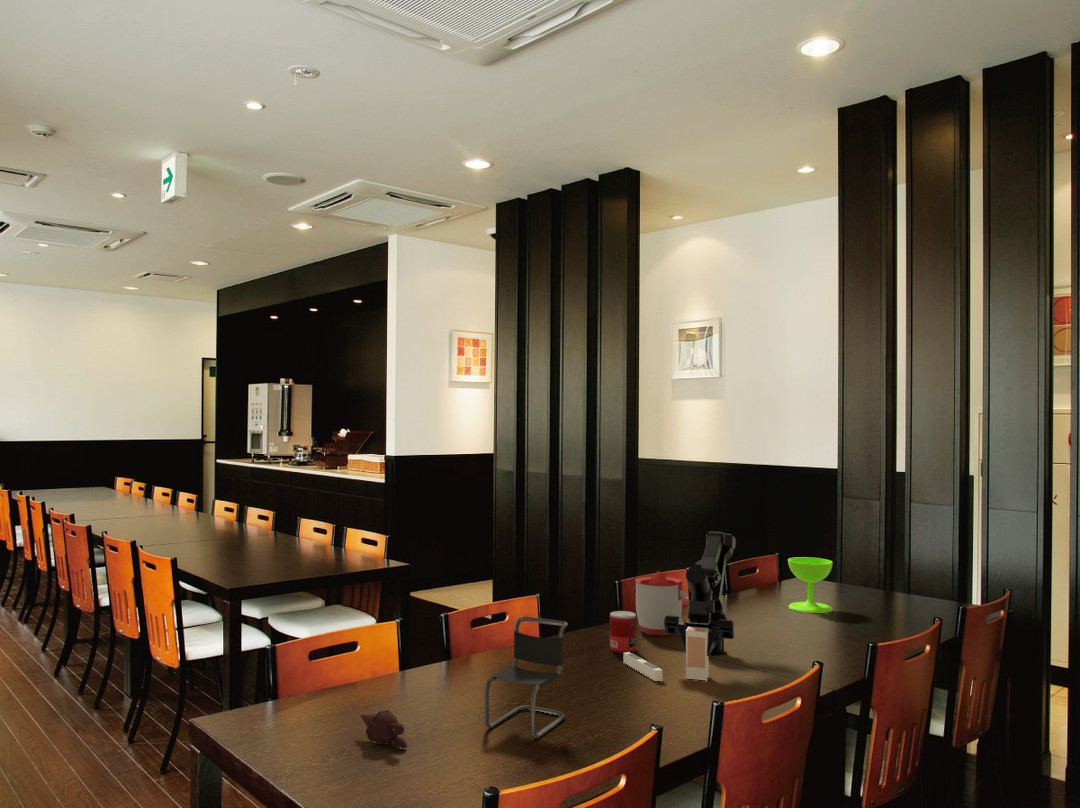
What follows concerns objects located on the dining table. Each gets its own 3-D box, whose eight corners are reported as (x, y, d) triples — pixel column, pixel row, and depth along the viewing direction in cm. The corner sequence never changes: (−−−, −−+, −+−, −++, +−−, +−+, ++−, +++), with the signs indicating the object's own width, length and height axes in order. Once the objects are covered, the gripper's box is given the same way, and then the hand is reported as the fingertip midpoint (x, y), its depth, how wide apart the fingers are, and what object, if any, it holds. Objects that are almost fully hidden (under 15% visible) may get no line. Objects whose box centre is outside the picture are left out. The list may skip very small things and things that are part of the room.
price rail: (629, 662, 227) (629, 651, 227) (662, 681, 210) (662, 669, 210) (623, 663, 226) (623, 652, 226) (655, 682, 209) (655, 669, 209)
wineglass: (839, 614, 287) (839, 564, 288) (795, 613, 288) (795, 564, 288) (824, 604, 303) (824, 557, 304) (782, 604, 304) (782, 557, 304)
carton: (688, 674, 216) (687, 626, 216) (708, 676, 214) (708, 627, 215) (685, 679, 211) (685, 630, 212) (706, 681, 210) (706, 631, 210)
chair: (570, 716, 184) (570, 621, 185) (534, 742, 169) (534, 639, 169) (521, 707, 190) (522, 615, 191) (482, 731, 175) (483, 631, 175)
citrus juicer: (684, 640, 250) (684, 577, 251) (630, 635, 256) (630, 573, 257) (691, 628, 265) (691, 569, 266) (640, 624, 271) (640, 566, 271)
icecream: (344, 709, 170) (387, 734, 160) (372, 692, 175) (415, 715, 165) (349, 738, 172) (392, 763, 162) (377, 720, 177) (420, 744, 167)
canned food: (635, 654, 235) (635, 617, 235) (608, 652, 236) (608, 616, 237) (637, 647, 242) (637, 611, 243) (611, 646, 244) (611, 610, 244)
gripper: (664, 585, 220) (658, 635, 209) (733, 590, 215) (730, 641, 204) (669, 608, 227) (663, 657, 217) (735, 613, 222) (732, 663, 211)
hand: (696, 654), depth 212 cm, fingers closed on carton, 5 cm apart
